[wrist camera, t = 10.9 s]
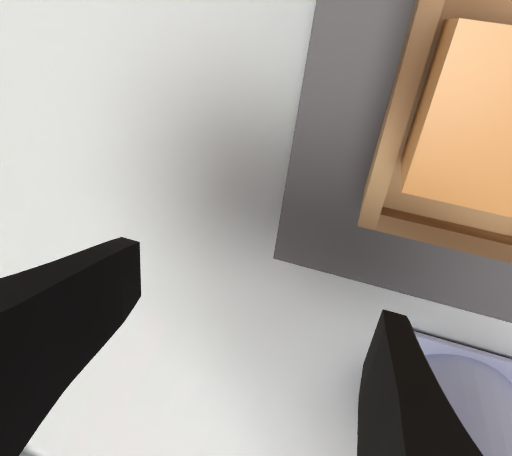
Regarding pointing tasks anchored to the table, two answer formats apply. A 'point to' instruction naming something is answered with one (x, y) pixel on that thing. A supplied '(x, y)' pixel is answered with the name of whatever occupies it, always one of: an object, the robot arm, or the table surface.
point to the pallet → (395, 135)
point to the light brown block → (464, 120)
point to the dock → (365, 169)
